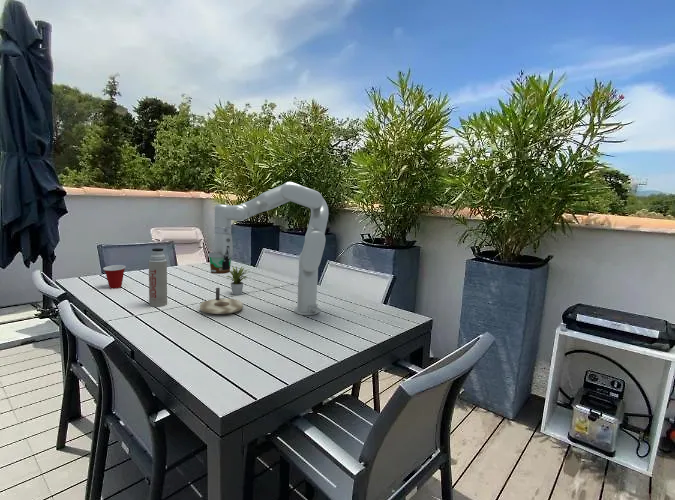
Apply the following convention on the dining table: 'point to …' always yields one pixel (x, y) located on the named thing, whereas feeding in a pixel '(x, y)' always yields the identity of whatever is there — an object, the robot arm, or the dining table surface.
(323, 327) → the dining table surface
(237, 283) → the house plant
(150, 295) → the thermos bottle
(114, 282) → the plastic cup
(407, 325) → the dining table surface
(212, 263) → the food container
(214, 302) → the turntable
